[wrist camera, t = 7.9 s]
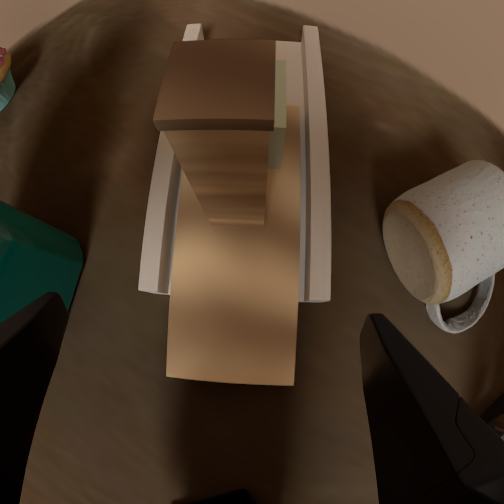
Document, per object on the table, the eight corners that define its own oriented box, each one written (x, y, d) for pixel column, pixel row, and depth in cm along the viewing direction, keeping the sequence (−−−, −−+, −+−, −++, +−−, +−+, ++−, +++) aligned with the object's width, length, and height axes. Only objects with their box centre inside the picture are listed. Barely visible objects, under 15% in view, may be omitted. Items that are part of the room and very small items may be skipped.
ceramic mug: (361, 219, 22) (408, 178, 14) (441, 181, 22) (496, 139, 15) (420, 353, 20) (485, 368, 12) (492, 300, 21) (558, 293, 13)
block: (280, 169, 20) (286, 127, 15) (202, 166, 20) (187, 126, 16) (281, 107, 21) (286, 60, 16) (210, 105, 21) (200, 59, 16)
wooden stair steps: (291, 382, 19) (340, 477, 6) (170, 373, 19) (60, 442, 7) (298, 114, 22) (323, -29, 10) (195, 111, 22) (155, -27, 10)
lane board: (320, 302, 21) (330, 300, 18) (154, 293, 21) (138, 290, 18) (313, 49, 25) (317, 26, 22) (192, 47, 25) (187, 24, 22)
